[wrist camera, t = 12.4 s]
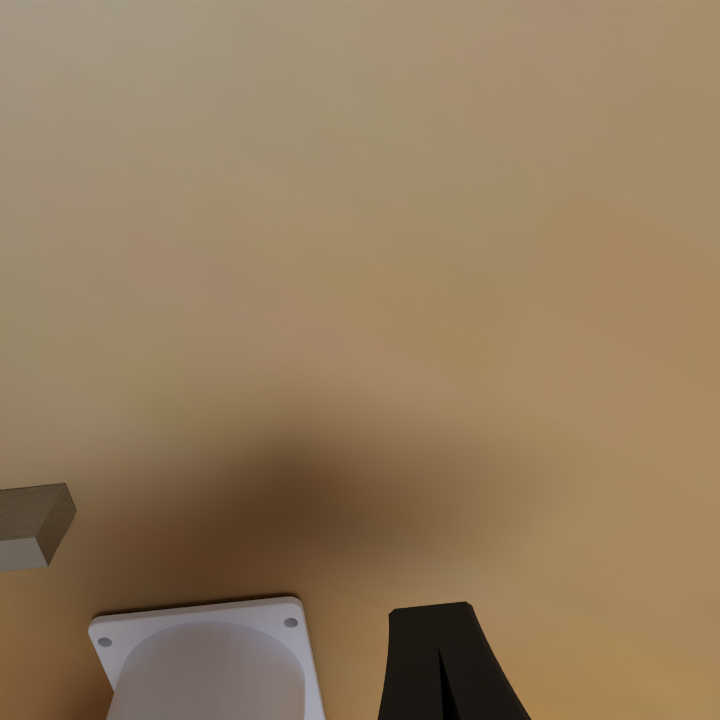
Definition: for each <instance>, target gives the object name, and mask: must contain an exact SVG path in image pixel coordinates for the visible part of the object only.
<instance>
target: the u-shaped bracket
mask: <svg viewBox="0 0 720 720" xmlns="http://www.w3.org/2000/svg"><path fill="white" fill-rule="evenodd" d="M75 513H76V510H75V507H74V505H73V502H72V500H71V497H70V495H69V492H68V490H67V487H66V485H65V484H57V485H48V486H39V487H29V488H20V489H11V490H1V491H0V572H2V571H11V570H21V569H30V568H40V567H48V566H49V564H50V562H51V560H52V558H53V556H54V554H55V552H56V550H57V548H58V546H59V544H60V542H61V540H62V538H63V536H64V534H65V532H66V531H67V529H68V527H69V525H70V523H71V521H72V519H73V517H74V515H75Z"/></svg>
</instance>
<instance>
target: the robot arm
mask: <svg viewBox="0 0 720 720" xmlns="http://www.w3.org/2000/svg"><path fill="white" fill-rule="evenodd" d="M288 618H294V619H288ZM88 634H89V636H90V639H91V641H92V643H93V645H94V648H95V650H96V652H97V654H98V657H99V659H100V661H101V664H102V666H103V668H104V670H105V673H106V675H107V677H108V679H109V682H110V684H111V686H112V689H113V691H114V695H113V698H112V702H111V705H110V708H109V711H108V714H107V717H106V720H326V716H325V711H324V707H323V702H322V697H321V692H320V687H319V682H318V677H317V672H316V667H315V663H314V658H313V653H312V648H311V643H310V638H309V633H308V628H307V623H306V619H305V614H304V609H303V604H302V602H301V601H300V600H299V599H297V598H295V597H278V598H269V599H259V600H250V601H240V602H231V603H221V604H212V605H202V606H193V607H183V608H174V609H164V610H154V611H145V612H135V613H126V614H116V615H107V616H99V617H96V618H94V619H93V620H92V621H91V623H90V626H89V628H88ZM378 720H531V718H530V717H529V715H528V713H527V712H526V710H525V708H524V707H523V705H522V704H521V702H520V700H519V699H518V697H517V695H516V694H515V692H514V690H513V688H512V687H511V685H510V683H509V681H508V680H507V678H506V676H505V674H504V672H503V671H502V669H501V667H500V665H499V663H498V661H497V659H496V657H495V656H494V654H493V652H492V650H491V648H490V646H489V644H488V642H487V640H486V637H485V635H484V633H483V631H482V629H481V626H480V624H479V622H478V620H477V617H476V615H475V612H474V609H473V607H472V605H470V604H469V603H467V602H466V601H465V602H456V603H446V604H437V605H427V606H417V607H408V608H398V609H394V610H393V611H392V612H391V613H390V614H389V646H388V657H387V666H386V674H385V681H384V688H383V694H382V699H381V704H380V710H379V715H378Z"/></svg>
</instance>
